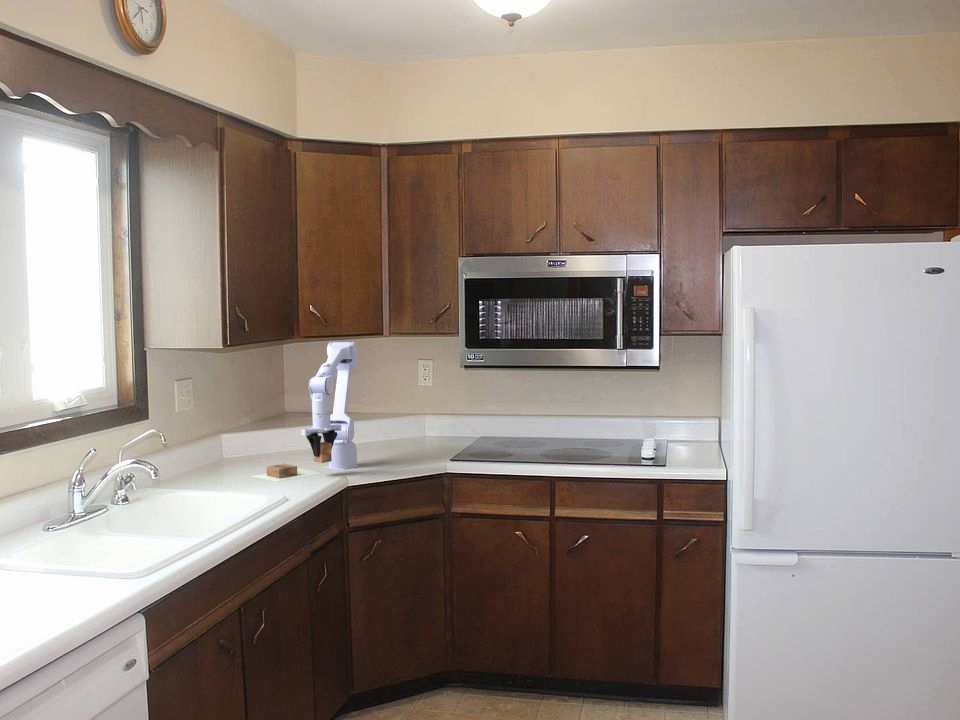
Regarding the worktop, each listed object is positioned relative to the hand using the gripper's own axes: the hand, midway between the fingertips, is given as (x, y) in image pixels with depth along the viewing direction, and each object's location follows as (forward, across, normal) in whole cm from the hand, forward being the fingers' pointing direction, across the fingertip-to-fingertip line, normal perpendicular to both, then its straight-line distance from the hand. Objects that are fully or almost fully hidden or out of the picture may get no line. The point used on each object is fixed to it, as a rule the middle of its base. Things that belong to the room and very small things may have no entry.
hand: (322, 455), depth 268 cm
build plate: (+7, -6, +11) cm, 14 cm away
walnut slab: (+7, -8, +11) cm, 15 cm away
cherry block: (+2, 0, 0) cm, 2 cm away
